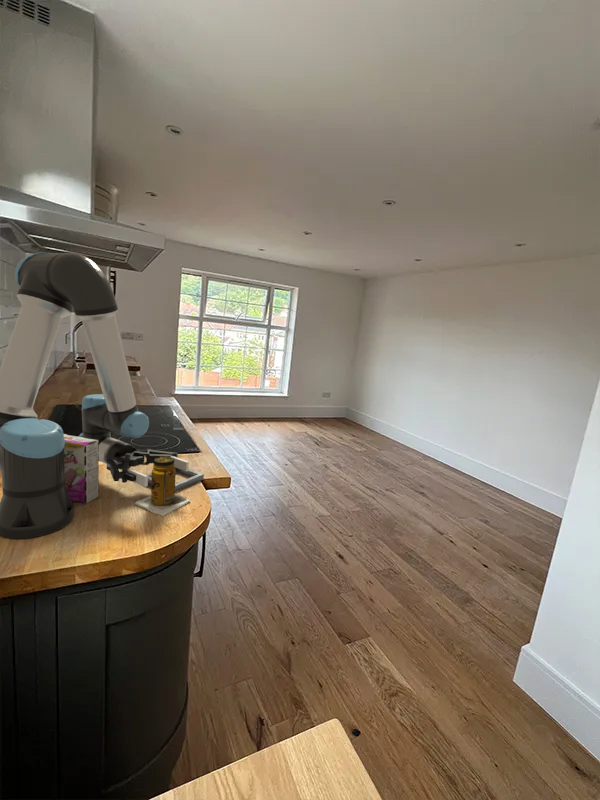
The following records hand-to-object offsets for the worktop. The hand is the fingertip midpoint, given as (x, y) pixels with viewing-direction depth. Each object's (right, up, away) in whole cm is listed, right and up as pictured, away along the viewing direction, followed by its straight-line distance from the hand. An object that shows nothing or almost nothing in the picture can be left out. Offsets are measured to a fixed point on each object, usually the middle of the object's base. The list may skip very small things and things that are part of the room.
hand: (168, 473), depth 99 cm
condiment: (-2, -8, +3) cm, 9 cm away
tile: (-2, -9, +2) cm, 9 cm away
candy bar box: (-25, -7, +1) cm, 26 cm away
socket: (-4, -6, +17) cm, 18 cm away
